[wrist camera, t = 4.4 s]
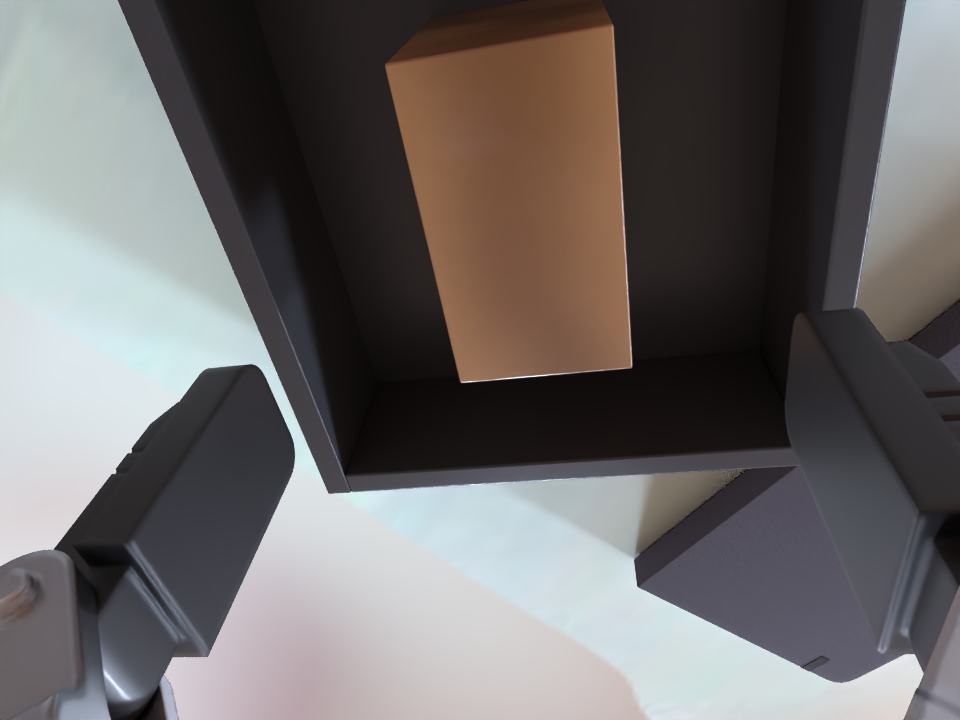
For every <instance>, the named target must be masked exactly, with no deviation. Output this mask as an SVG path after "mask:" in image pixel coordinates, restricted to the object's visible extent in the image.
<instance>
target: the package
mask: <svg viewBox="0 0 960 720" xmlns="http://www.w3.org/2000/svg"><path fill="white" fill-rule="evenodd" d="M385 69H386V73H387V77H388V81H389V86H390V90H391V94H392V98H393V102H394V107H395V111H396V115H397V119H398V123H399V127H400V132H401V136H402V140H403V144H404V148H405V153H406V157H407V161H408V165H409V169H410V174H411V178H412V182H413V186H414V190H415V195H416V199H417V203H418V207H419V211H420V216H421V220H422V224H423V228H424V232H425V237H426V241H427V245H428V249H429V253H430V258H431V262H432V266H433V270H434V274H435V279H436V283H437V287H438V291H439V295H440V299H441V304H442V308H443V312H444V316H445V320H446V325H447V329H448V333H449V337H450V341H451V346H452V350H453V354H454V358H455V362H456V367H457V371H458V375H459V379H460V382H461V383H466V382H478V381H489V380H501V379H512V378H524V377H535V376H547V375H558V374H570V373H581V372H593V371H604V370H616V369H627V368H632V366H633V365H632V347H631V329H630V311H629V293H628V275H627V257H626V239H625V221H624V203H623V185H622V167H621V149H620V131H619V113H618V95H617V77H616V59H615V41H614V26H613V24H612V22H611V19H610V17H609V15H608V13H607V11H606V9H605V6H604V4H603V2H602V0H527V1H522V2H516V3H511V4H506V5H500V6H495V7H489V8H484V9H479V10H473V11H468V12H463V13H457V14H452V15H447V16H441V17H436V18H431V19H430V20H429V21H428V22H427V23H426V24H425V25H424V26H423V27H422V28H421V29H420V30H419V31H418V32H417V33H416V34H415V35H414V36H413V37H412V38H411V39H410V40H409V41H408V42H407V43H406V44H405V45H404V46H403V47H402V48H401V49H400V50H399V51H398V52H397V53H396V54H395V55H394V56H393V57H392V58H391V59H390V60H389V61H388V62H387V63H386V64H385Z"/></svg>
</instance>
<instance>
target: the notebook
mask: <svg viewBox="0 0 960 720" xmlns="http://www.w3.org/2000/svg"><path fill="white" fill-rule="evenodd" d="M909 342H910V343H911V344H913V345H915V346H916V347H918V348H920V349H922V350H923V351H925V352H927V353H928V354H930V355H932V356H933V357H935V358H937V359H938V360H940V361H942V362H943V363H944V364H945V365H946V366H947V368H948V369H949V370H950V371H951V372H952V374H953V375H954V376H955V377H956V379H957V380H958V381H959V382H960V301H959V302H958V303H956V304H955V305H954V306H953V307H951V308H950V309H949V310H948V311H946V312H945V313H944V314H942V315H941V316H940V317H939V318H937V319H936V320H935V321H934V322H932V323H931V324H930V325H929V326H927V327H926V328H925V329H924V330H922V331H921V332H920V333H919V334H917V335H916V336H915V337H914V338H912V339H911V340H910V341H909ZM634 563H635V571H636V579H637V586H638V587H639V588H641V589H643V590H645V591H647V592H649V593H651V594H653V595H655V596H657V597H659V598H661V599H663V600H665V601H667V602H669V603H671V604H674V605H676V606H678V607H680V608H682V609H684V610H686V611H688V612H690V613H692V614H694V615H696V616H698V617H700V618H702V619H704V620H706V621H708V622H710V623H712V624H714V625H716V626H718V627H721V628H723V629H725V630H727V631H729V632H731V633H733V634H735V635H737V636H739V637H741V638H743V639H745V640H747V641H749V642H751V643H753V644H755V645H757V646H759V647H761V648H763V649H766V650H768V651H770V652H772V653H774V654H776V655H778V656H780V657H782V658H784V659H786V660H788V661H790V662H792V663H794V664H796V665H798V666H800V667H801V668H803V669H805V670H807V671H811V672H813V673H815V674H817V675H819V676H821V677H823V678H825V679H827V680H830V681H833V682H840V683H842V682H848V681H851V680H854V679H856V678H859V677H861V676H862V675H864V674H866V673H868V672H870V671H872V670H874V669H876V668H878V667H880V666H882V665H884V664H886V663H888V662H890V661H892V660H894V659H896V658H898V657H900V656H902V655H904V654H879V653H878V651H877V648H876V646H875V644H874V641H873V639H872V636H871V634H870V632H869V629H868V627H867V625H866V622H865V620H864V617H863V615H862V613H861V610H860V608H859V606H858V603H857V601H856V598H855V596H854V594H853V591H852V589H851V587H850V584H849V582H848V579H847V577H846V575H845V572H844V570H843V568H842V565H841V563H840V560H839V558H838V556H837V553H836V551H835V549H834V546H833V544H832V541H831V539H830V537H829V534H828V532H827V530H826V527H825V525H824V522H823V520H822V518H821V515H820V513H819V511H818V508H817V506H816V503H815V501H814V499H813V496H812V494H811V492H810V489H809V487H808V484H807V482H806V480H805V477H804V475H803V473H802V470H801V468H800V465H799V466H783V467H766V468H750V469H747V470H746V471H745V472H744V473H742V474H741V475H740V476H739V477H737V478H736V479H735V480H734V481H732V482H731V483H730V484H729V485H727V486H726V487H725V488H724V489H722V490H721V491H720V492H718V493H717V494H716V495H715V496H713V497H712V498H711V499H710V500H708V501H707V502H706V503H705V504H703V505H702V506H701V507H700V508H698V509H697V510H696V511H695V512H693V513H692V514H691V515H690V516H688V517H687V518H686V519H684V520H683V521H682V522H681V523H679V524H678V525H677V526H676V527H674V528H673V529H672V530H671V531H669V532H668V533H667V534H666V535H664V536H663V537H662V538H661V539H659V540H658V541H657V542H656V543H654V544H653V545H652V546H651V547H649V548H648V549H647V550H645V551H644V552H643V553H642V554H640V555H639V556H638V557H637V558H635V559H634Z"/></svg>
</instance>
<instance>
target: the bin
mask: <svg viewBox="0 0 960 720" xmlns="http://www.w3.org/2000/svg"><path fill="white" fill-rule="evenodd" d="M522 1H527V0H118V2H119V4H120V6H121V9H122V11H123V13H124V16H125V18H126V20H127V23H128V25H129V27H130V30H131V32H132V34H133V37H134V39H135V41H136V44H137V46H138V48H139V51H140V53H141V56H142V58H143V60H144V63H145V65H146V67H147V70H148V72H149V74H150V77H151V79H152V81H153V84H154V86H155V88H156V91H157V93H158V95H159V98H160V100H161V102H162V105H163V107H164V109H165V112H166V114H167V116H168V119H169V121H170V123H171V126H172V128H173V130H174V133H175V135H176V137H177V140H178V142H179V144H180V147H181V149H182V151H183V154H184V156H185V158H186V161H187V163H188V166H189V168H190V170H191V173H192V175H193V177H194V180H195V182H196V184H197V187H198V189H199V191H200V194H201V196H202V198H203V201H204V203H205V205H206V208H207V210H208V212H209V215H210V217H211V219H212V222H213V224H214V226H215V229H216V231H217V233H218V236H219V238H220V240H221V243H222V245H223V247H224V250H225V252H226V254H227V257H228V259H229V261H230V264H231V266H232V269H233V271H234V273H235V276H236V278H237V280H238V283H239V285H240V287H241V290H242V292H243V294H244V297H245V299H246V301H247V304H248V306H249V308H250V311H251V313H252V315H253V318H254V320H255V322H256V325H257V327H258V329H259V332H260V334H261V336H262V339H263V341H264V343H265V346H266V348H267V350H268V353H269V355H270V357H271V360H272V362H273V364H274V367H275V369H276V371H277V374H278V376H279V379H280V381H281V383H282V386H283V388H284V390H285V393H286V395H287V397H288V400H289V402H290V404H291V407H292V409H293V411H294V414H295V416H296V418H297V421H298V423H299V425H300V428H301V430H302V432H303V435H304V437H305V439H306V442H307V444H308V446H309V449H310V451H311V453H312V456H313V458H314V460H315V463H316V465H317V467H318V470H319V472H320V474H321V477H322V479H323V482H324V484H325V486H326V489H327V491H328V493H329V494H333V493H350V492H351V491H352V492H361V491H378V490H395V489H412V488H429V487H446V486H463V485H480V484H496V483H513V482H530V481H547V480H564V479H581V478H598V477H615V476H631V475H648V474H665V473H682V472H699V471H716V470H733V469H750V468H766V467H783V466H799V463H798V461H797V458H796V456H795V454H794V451H793V449H792V446H791V444H790V440H789V437H788V433H787V427H786V420H785V396H786V386H787V376H788V367H789V357H790V347H791V337H792V329H793V323H794V320H795V317H796V316H797V315H798V314H799V313H809V312H819V311H829V310H840V309H850V308H855V307H856V301H857V295H858V289H859V283H860V277H861V271H862V264H863V258H864V252H865V246H866V240H867V234H868V228H869V222H870V216H871V210H872V204H873V198H874V192H875V186H876V180H877V174H878V168H879V162H880V156H881V149H882V143H883V137H884V131H885V125H886V119H887V113H888V107H889V101H890V95H891V89H892V83H893V77H894V71H895V65H896V59H897V53H898V47H899V41H900V34H901V28H902V22H903V16H904V10H905V4H906V0H602V2H603V4H604V6H605V9H606V11H607V13H608V15H609V17H610V19H611V22H612V24H613V26H614V41H615V59H616V77H617V95H618V113H619V131H620V149H621V167H622V185H623V203H624V221H625V239H626V257H627V275H628V293H629V311H630V329H631V347H632V365H633V366H632V368H627V369H616V370H604V371H593V372H581V373H570V374H558V375H547V376H535V377H524V378H512V379H501V380H489V381H478V382H466V383H461V382H460V379H459V375H458V371H457V367H456V362H455V358H454V354H453V350H452V346H451V341H450V337H449V333H448V329H447V325H446V320H445V316H444V312H443V308H442V304H441V299H440V295H439V291H438V287H437V283H436V279H435V274H434V270H433V266H432V262H431V258H430V253H429V249H428V245H427V241H426V237H425V232H424V228H423V224H422V220H421V216H420V211H419V207H418V203H417V199H416V195H415V190H414V186H413V182H412V178H411V174H410V169H409V165H408V161H407V157H406V153H405V148H404V144H403V140H402V136H401V132H400V127H399V123H398V119H397V115H396V111H395V107H394V102H393V98H392V94H391V90H390V86H389V81H388V77H387V73H386V69H385V64H386V63H387V62H388V61H389V60H390V59H391V58H392V57H393V56H394V55H395V54H396V53H397V52H398V51H399V50H400V49H401V48H402V47H403V46H404V45H405V44H406V43H407V42H408V41H409V40H410V39H411V38H412V37H413V36H414V35H415V34H416V33H417V32H418V31H419V30H420V29H421V28H422V27H423V26H424V25H425V24H426V23H427V22H428V21H429V20H430V19H431V18H436V17H441V16H447V15H452V14H457V13H463V12H468V11H473V10H479V9H484V8H489V7H495V6H500V5H506V4H511V3H516V2H522Z"/></svg>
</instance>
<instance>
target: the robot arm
mask: <svg viewBox="0 0 960 720" xmlns="http://www.w3.org/2000/svg"><path fill="white" fill-rule="evenodd" d="M785 420H786V427H787V433H788V437H789V440H790V444H791V446H792V449H793V451H794V454H795V456H796V458H797V461H798V463H799V465H800V468H801V470H802V473H803V475H804V477H805V480H806V482H807V484H808V487H809V489H810V492H811V494H812V496H813V499H814V501H815V503H816V506H817V508H818V511H819V513H820V515H821V518H822V520H823V522H824V525H825V527H826V530H827V532H828V534H829V537H830V539H831V541H832V544H833V546H834V549H835V551H836V553H837V556H838V558H839V560H840V563H841V565H842V568H843V570H844V572H845V575H846V577H847V579H848V582H849V584H850V587H851V589H852V591H853V594H854V596H855V598H856V601H857V603H858V606H859V608H860V610H861V613H862V615H863V617H864V620H865V622H866V625H867V627H868V629H869V632H870V634H871V636H872V639H873V641H874V644H875V646H876V648H877V651H878V653H879V654H915V655H916V657H917V660H918V662H919V664H920V666H921V668H922V670H923V672H924V675H923V678H922V680H921V682H920V685H919V687H918V688H917V689H916V691H915V694H914V696H913V698H912V700H911V703H910V705H909V708H908V710H907V713H906V715H905V717H904V720H960V382H959V381H958V380H957V379H956V377H955V376H954V375H953V374H952V372H951V371H950V370H949V369H948V368H947V366H946V365H945V364H944V363H943V362H942V361H940V360H938V359H937V358H935V357H933V356H932V355H930V354H928V353H927V352H925V351H923V350H922V349H920V348H918V347H916V346H915V345H913V344H911V343H910V342H908V341H898V342H886V341H885V340H884V339H883V337H882V336H881V334H880V333H879V332H878V330H877V329H876V328H875V326H874V325H873V323H872V322H871V321H870V319H869V318H868V317H867V315H866V314H865V313H864V312H863V310H861V309H860V308H850V309H840V310H829V311H819V312H809V313H799V314H798V315H797V316H796V317H795V320H794V323H793V329H792V337H791V347H790V357H789V367H788V376H787V386H786V396H785ZM294 461H295V450H294V443H293V439H292V436H291V434H290V432H289V429H288V427H287V425H286V423H285V420H284V418H283V416H282V414H281V411H280V409H279V407H278V405H277V402H276V400H275V398H274V396H273V393H272V391H271V389H270V387H269V384H268V382H267V380H266V378H265V376H264V374H263V372H262V371H261V370H260V369H259V368H258V367H257V366H256V365H253V364H249V365H239V366H228V367H218V368H208V369H206V370H204V371H203V372H202V373H201V374H200V375H199V376H198V378H197V379H196V380H195V382H194V383H193V384H192V386H191V387H190V388H189V390H188V391H187V392H186V394H185V395H184V396H183V398H182V399H181V400H180V402H178V403H176V404H175V405H174V406H173V407H171V408H170V409H169V410H168V411H166V412H165V413H164V414H163V415H161V416H160V417H159V418H158V419H156V420H155V421H154V422H152V423H151V424H150V425H149V427H148V428H147V429H146V431H145V432H144V433H143V434H142V436H141V437H140V438H139V440H138V441H137V442H136V444H135V445H134V446H133V448H132V453H128V454H127V455H126V457H125V458H124V459H123V460H122V462H121V463H120V464H119V465H118V467H117V468H116V474H112V475H111V476H110V477H109V479H108V480H107V481H106V482H105V484H104V485H103V486H102V488H101V489H100V490H99V492H98V493H97V494H96V495H95V497H94V498H93V499H92V501H91V502H90V503H89V505H88V506H87V507H86V508H85V510H84V511H83V512H82V513H81V515H80V516H79V517H78V519H77V520H76V521H75V523H74V524H73V525H72V527H71V528H70V529H69V530H68V532H67V533H66V534H65V536H64V537H63V538H62V539H61V541H60V542H59V543H58V545H57V546H56V547H55V549H54V550H42V551H37V552H32V553H29V554H26V555H23V556H21V557H18V558H16V559H14V560H12V561H10V562H8V563H6V564H4V565H2V566H0V720H179V717H178V713H177V708H176V703H175V698H174V693H173V689H172V686H171V684H170V682H169V681H168V679H167V678H166V677H165V676H164V673H165V671H166V669H167V667H168V665H169V663H170V661H171V659H172V657H208V655H209V653H210V651H211V649H212V647H213V645H214V642H215V640H216V638H217V636H218V634H219V632H220V629H221V627H222V625H223V623H224V621H225V619H226V616H227V614H228V612H229V610H230V608H231V606H232V603H233V601H234V599H235V597H236V595H237V592H238V590H239V588H240V586H241V584H242V582H243V579H244V577H245V575H246V573H247V571H248V569H249V566H250V564H251V562H252V560H253V558H254V556H255V553H256V551H257V549H258V547H259V545H260V542H261V540H262V538H263V536H264V534H265V532H266V529H267V527H268V525H269V523H270V521H271V519H272V516H273V514H274V512H275V510H276V508H277V506H278V503H279V501H280V499H281V497H282V495H283V493H284V490H285V488H286V486H287V484H288V482H289V479H290V477H291V475H292V472H293V468H294Z"/></svg>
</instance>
